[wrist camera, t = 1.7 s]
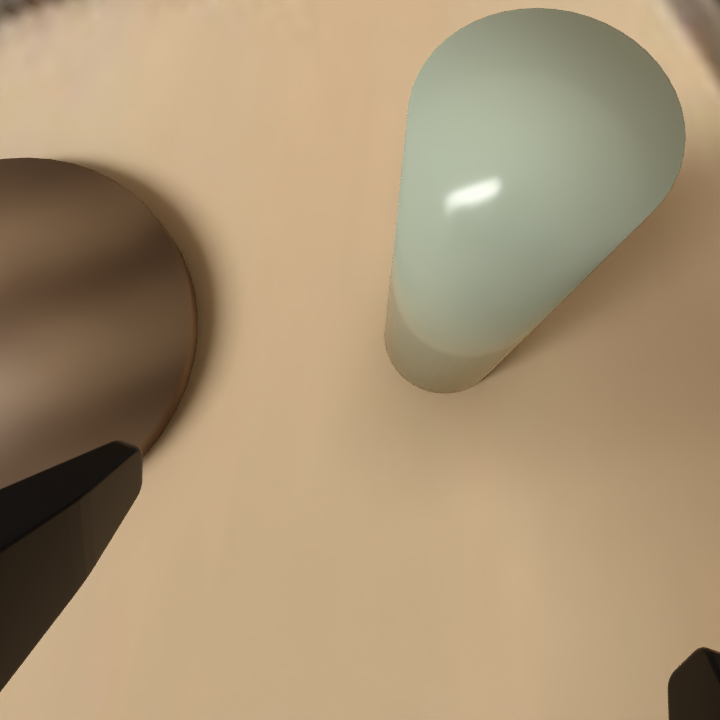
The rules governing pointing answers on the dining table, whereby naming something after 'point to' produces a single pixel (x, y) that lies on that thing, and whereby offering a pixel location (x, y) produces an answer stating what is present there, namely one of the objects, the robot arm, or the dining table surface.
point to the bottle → (519, 183)
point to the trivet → (85, 317)
